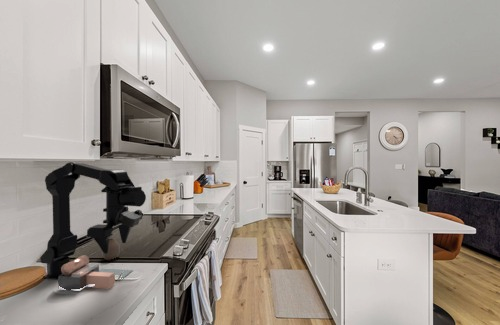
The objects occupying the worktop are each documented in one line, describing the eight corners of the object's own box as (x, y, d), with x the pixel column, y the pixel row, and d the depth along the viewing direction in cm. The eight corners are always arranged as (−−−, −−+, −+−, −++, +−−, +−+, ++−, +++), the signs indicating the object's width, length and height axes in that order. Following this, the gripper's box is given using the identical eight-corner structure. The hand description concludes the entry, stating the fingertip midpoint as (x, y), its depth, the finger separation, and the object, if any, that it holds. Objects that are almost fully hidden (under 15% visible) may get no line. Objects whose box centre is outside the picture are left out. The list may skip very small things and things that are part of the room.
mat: (88, 278, 80) (88, 277, 80) (102, 269, 87) (102, 268, 87) (120, 280, 79) (120, 279, 79) (132, 271, 86) (132, 270, 86)
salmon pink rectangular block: (83, 287, 75) (82, 274, 75) (89, 283, 78) (89, 271, 78) (109, 289, 74) (109, 276, 74) (114, 284, 77) (114, 272, 77)
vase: (99, 262, 93) (99, 242, 93) (105, 256, 99) (105, 237, 99) (117, 260, 95) (117, 240, 95) (122, 254, 101) (122, 235, 101)
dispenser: (58, 290, 73) (58, 264, 73) (79, 277, 81) (79, 254, 81) (79, 291, 72) (79, 265, 72) (98, 278, 80) (98, 255, 80)
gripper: (118, 211, 67) (118, 261, 67) (151, 200, 86) (150, 239, 86) (85, 210, 68) (85, 259, 68) (125, 199, 87) (124, 238, 87)
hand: (115, 247), depth 78 cm, fingers open, 9 cm apart
